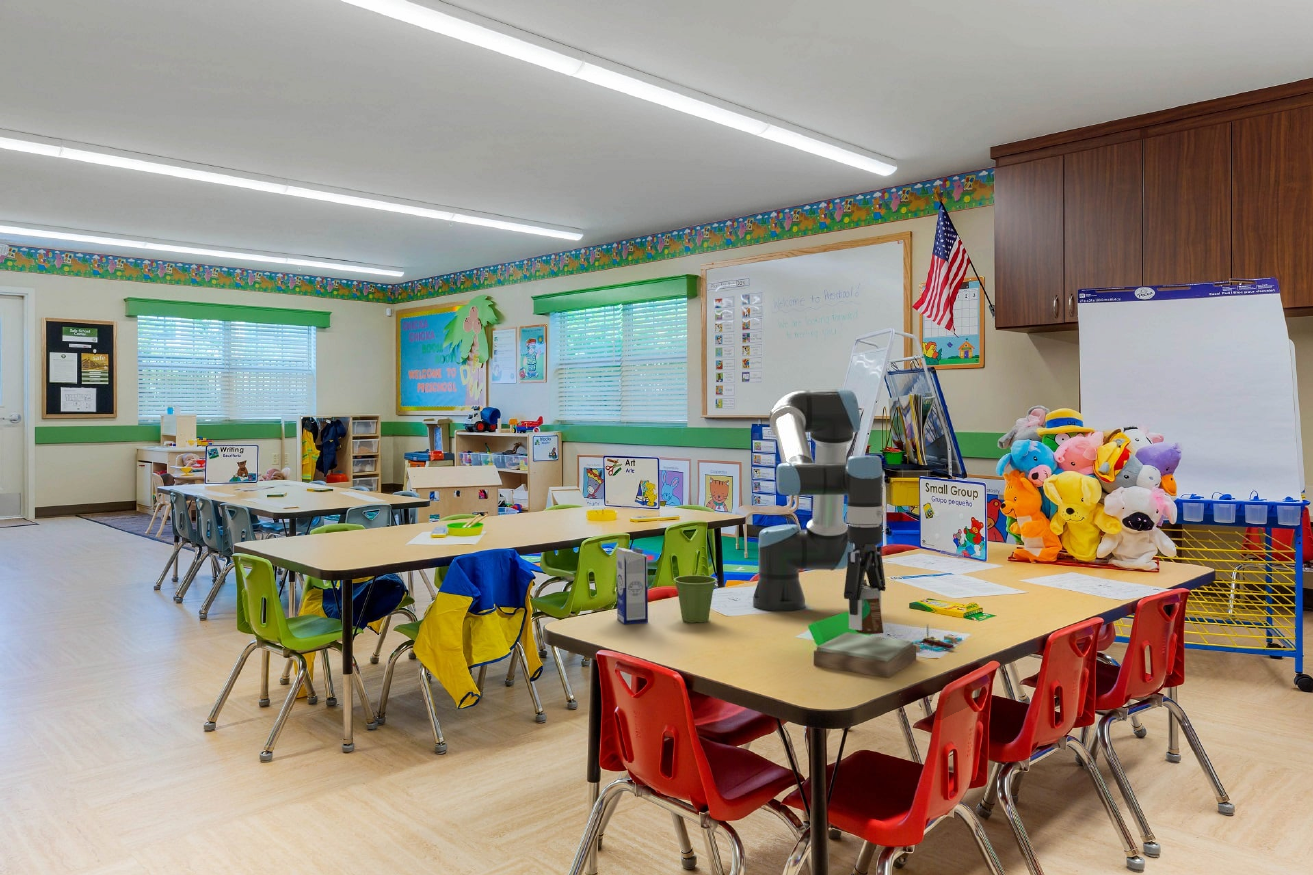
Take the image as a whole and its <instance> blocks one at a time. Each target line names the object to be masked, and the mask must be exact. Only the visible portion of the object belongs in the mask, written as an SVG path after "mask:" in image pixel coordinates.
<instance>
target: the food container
mask: <svg viewBox="0 0 1313 875" xmlns="http://www.w3.org/2000/svg"><path fill="white" fill-rule="evenodd" d="M879 598H880V597H879V592H878V588H875V589H873V587H872V586H870V585H869V584H867V579H864V581H863V586H862V590H861V595H860V600H862V630H856V632H858V633H862V634H871V635H876V634H883V633H884V628H883V619H882V609H881V610H880V602H879Z"/></svg>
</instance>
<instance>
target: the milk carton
mask: <svg viewBox="0 0 1313 875" xmlns="http://www.w3.org/2000/svg"><path fill="white" fill-rule="evenodd" d="M648 582H649V581H648V555H646V554H644V549H643V548H639V547H635V546H634V547H633V548H632V549H627V548H624V547H616V606H617V607H616V608H617V610H616V611H617V613H616V615H617V620H618V621H619V622H620V623H621V624H623V625H635V624H644V623H645V624H647V623H649V612H648V611H649V603H648V602H649V601H648V600H649V597H648V591H649V589H648V588H649V587H648Z"/></svg>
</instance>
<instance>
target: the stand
mask: <svg viewBox="0 0 1313 875" xmlns="http://www.w3.org/2000/svg"><path fill="white" fill-rule="evenodd" d="M916 660H917V652H916V645H913V642H912V641H910V640H902V639H897V638H889V637H883V636H882V637H881V636H874V635H870V636H869V635H862V634H855V633H848V632H846V633H844V634H842V635H840V636H838V637H836V638H834V639H832V640H830V641H828V642H826V643H824V644H822V645H820V646H816V649H815V650H813V665H814V666H816V667H823V668H829V669H834V670H840V671H845V672H851V673H857V674H863V675H869V676H875V677H881V678H884V679H885V678H887V679H889V678H890V677H892V676H893V675H895V674H896V673H898V672H899V671H901V670H903V669H904V668H906V667H907V666H908V665H911V664H912V663H913V662H915V661H916Z"/></svg>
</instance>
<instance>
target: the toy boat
mask: <svg viewBox="0 0 1313 875" xmlns="http://www.w3.org/2000/svg"><path fill="white" fill-rule="evenodd" d="M962 641H963V638H962V637H959V636H952V635H948V634H947V635H944V636H943V639H942V640H941V639H940V638H936V637H935V636H929V624H928V623H927V624H926V636H924V638H922V639H918V640H912V641H911V642H913V645H916V653H917V652H920V651H921V650H924V649H925V650H928V649H929V651H932V650H933V651H932V652H941V651H940V650H942V651H945V650H944V649H946V650H951V649H953V648H955V644H958V642H962ZM922 643H923V644H922ZM953 643H955V644H953ZM933 645H934V646H933ZM920 649H921V650H920Z"/></svg>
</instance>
